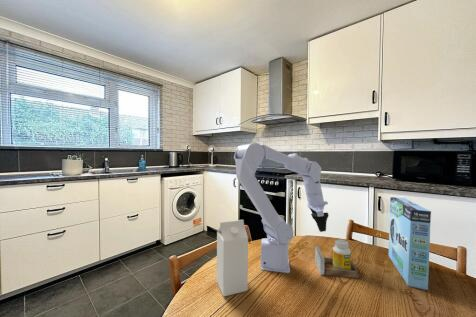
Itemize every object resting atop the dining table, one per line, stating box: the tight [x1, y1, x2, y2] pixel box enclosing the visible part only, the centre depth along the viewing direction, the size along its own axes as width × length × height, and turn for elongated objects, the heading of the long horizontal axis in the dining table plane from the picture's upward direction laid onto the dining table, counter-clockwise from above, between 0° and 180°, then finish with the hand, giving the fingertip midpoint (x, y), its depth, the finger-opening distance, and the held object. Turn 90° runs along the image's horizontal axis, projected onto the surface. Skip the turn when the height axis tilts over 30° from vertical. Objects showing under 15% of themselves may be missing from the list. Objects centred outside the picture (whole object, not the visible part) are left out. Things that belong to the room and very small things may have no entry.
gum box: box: [388, 197, 432, 291], centre depth 66 cm, size 20×5×23 cm, turn 157°
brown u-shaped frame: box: [323, 256, 361, 280], centre depth 67 cm, size 10×8×2 cm
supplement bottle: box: [332, 238, 352, 270], centre depth 67 cm, size 5×5×10 cm
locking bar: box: [314, 245, 326, 276], centre depth 68 cm, size 1×10×5 cm, turn 168°
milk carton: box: [216, 219, 249, 297], centre depth 58 cm, size 7×7×19 cm
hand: (320, 225), depth 76 cm, fingers open, 7 cm apart
